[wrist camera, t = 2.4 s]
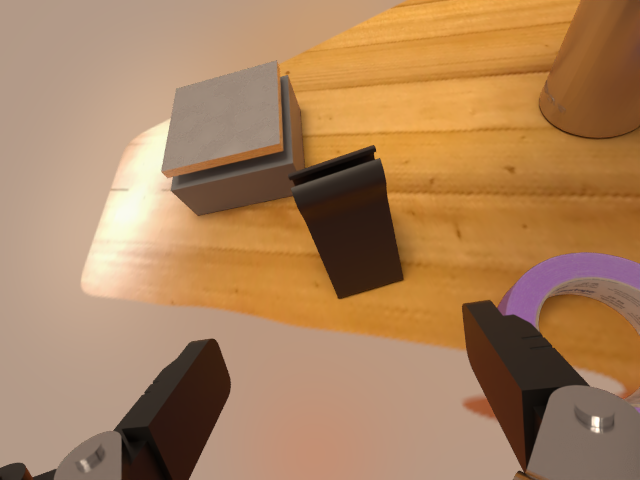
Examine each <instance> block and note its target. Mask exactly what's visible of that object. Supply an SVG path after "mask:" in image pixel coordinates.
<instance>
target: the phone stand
mask: <svg viewBox="0 0 640 480" xmlns="http://www.w3.org/2000/svg"><path fill="white" fill-rule="evenodd" d="M374 152H376V148H375V146H374V145H372V146H369V147H366V148H363V149H360V150H358V151H355V152H352V153H349V154H346V155H343V156H340V157H337V158H334V159H331V160H328V161H325V162H322V163H319V164H316V165H313V166H311V167H308V168H305V169H302V170H299V171H296V172H293V173H290V174H288V178H289V180H290V181H291V180H292V181H293V183H294V185H295V187H292V188H291V190H292V193H293V196H294V199H295V202H296V204H297V207H298V209H299V211H300V213H301V215H302V216H303V218H304V220H305V222H306V224H307V226H308V228H309V231H310V233H311V235H312V238H313V240H314V242H315V245H316V247H317V249H318V252H319V254H320V256H321V259H322V261H323V263H324V266H325V268H326V270H327V273H328V275H329V277H330V280H331V282H332V284H333V287H334V289H335V291H336V294H337V296H338V298H342V297H345V296H349V295H352V294H355V293H359V292H362V291H365V290H369V289H372V288H375V287H379V286H382V285H386V284H389V283H392V282H396V281H399V280H402V279H403V274H402V269H401V264H400V259H399V254H398V249H397V244H396V239H395V234H394V229H393V224H392V219H391V214H390V208H389V203H388V198H387V190H386V178H385V174H384V170H383V166H382V163H381V160H380V158H379V159H376V160H375V158H374Z"/></svg>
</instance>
